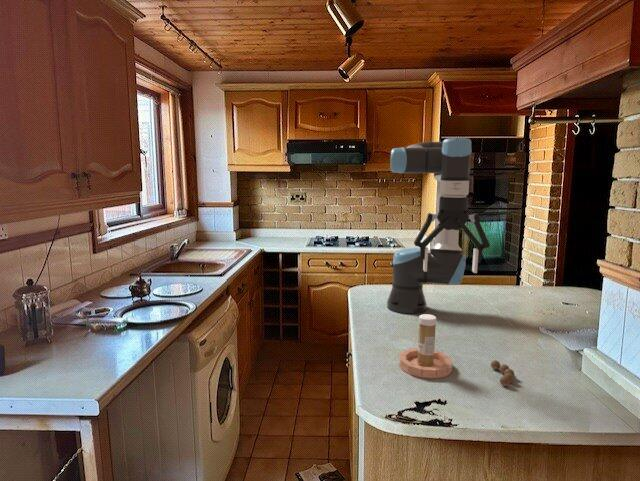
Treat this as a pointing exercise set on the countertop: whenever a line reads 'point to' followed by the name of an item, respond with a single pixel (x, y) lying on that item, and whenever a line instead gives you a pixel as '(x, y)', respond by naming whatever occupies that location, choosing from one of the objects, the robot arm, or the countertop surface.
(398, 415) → the countertop surface
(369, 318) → the countertop surface
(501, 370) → the bead string
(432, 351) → the sprinkles bottle
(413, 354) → the saucer
